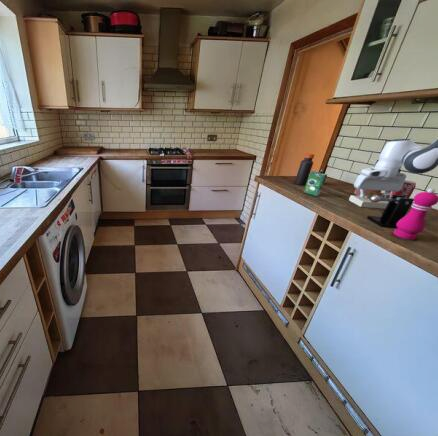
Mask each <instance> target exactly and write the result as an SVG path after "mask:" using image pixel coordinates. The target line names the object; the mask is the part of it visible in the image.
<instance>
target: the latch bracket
mask: <svg viewBox="0 0 438 436" xmlns="http://www.w3.org/2000/svg"><path fill="white" fill-rule="evenodd" d="M397 197H404V198H400V200H399V201H398V203H395V202H392V201H389V203H388V205H387V207H386V208H385V209H384V210H383V212H382V214H381V216H375V215H367V217H366V219H368V220H369V221H371V222H373V223H374V224H376V225H377V226H379V227H381V228H389V229H390V228H391V229H398V228H397V226H396V224H397V222H398V221H399V220H400V219H401V218H403V217H404V216H406V215H407V214H408V212H409V211H410V208H411V206H412V205H413V203H414V197H413V198H412V197H410V198H405V197H406V196H405V195H394V194H393V195H392V197H391V199H396V198H397Z"/></svg>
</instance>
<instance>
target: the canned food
mask: <svg viewBox="0 0 438 436" xmlns="http://www.w3.org/2000/svg"><path fill="white" fill-rule="evenodd" d="M369 191H370V192H374V193H377V194H379V195H381V193H382V190H368V189H366V191H364V193H365V194H366V196H367V195H368V193H369ZM353 194H354V195H355V196H360V194H361V192H360V189H357V188H355V190H354V192H353Z"/></svg>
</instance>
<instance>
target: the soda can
mask: <svg viewBox="0 0 438 436" xmlns="http://www.w3.org/2000/svg"><path fill="white" fill-rule="evenodd" d="M416 186H417V182H416V181H411V180H406V179H405V181H404V185H403V187H402V189H401V190H400V191H399V192H396V191H391V193H390V194H389V197H388V198H391V197H392V195H393V194H394V195H405V196H406V197H405V198H411V196H412V194H413V192H414V191H415V188H416ZM388 202H389V201H388Z"/></svg>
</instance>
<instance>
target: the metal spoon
mask: <svg viewBox="0 0 438 436" xmlns="http://www.w3.org/2000/svg"><path fill="white" fill-rule="evenodd" d="M400 198H404V197H397V198H396V199H391V198H389V197H386V198H380V195H379V196H378V195H373V196H371V197H370V201H371V202H379V201H392V202H395V203H398V201H399V200H400Z"/></svg>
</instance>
